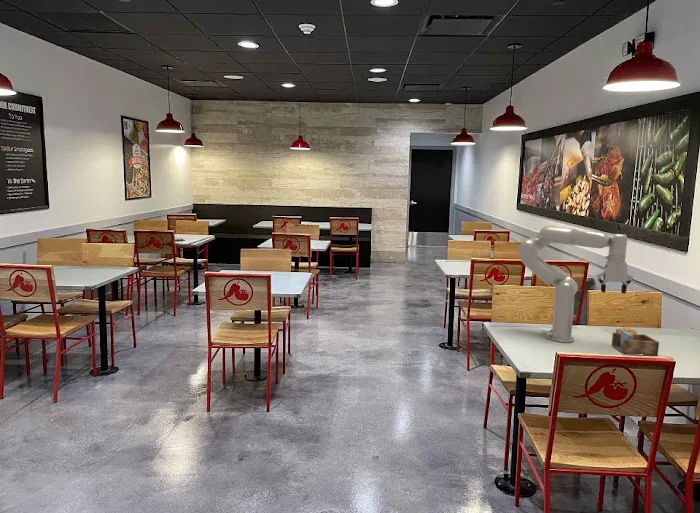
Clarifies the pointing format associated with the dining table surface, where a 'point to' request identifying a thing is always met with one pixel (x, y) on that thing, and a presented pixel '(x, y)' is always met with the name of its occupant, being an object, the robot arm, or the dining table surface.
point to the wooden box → (636, 345)
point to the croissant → (626, 330)
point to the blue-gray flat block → (625, 337)
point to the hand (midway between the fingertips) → (613, 292)
